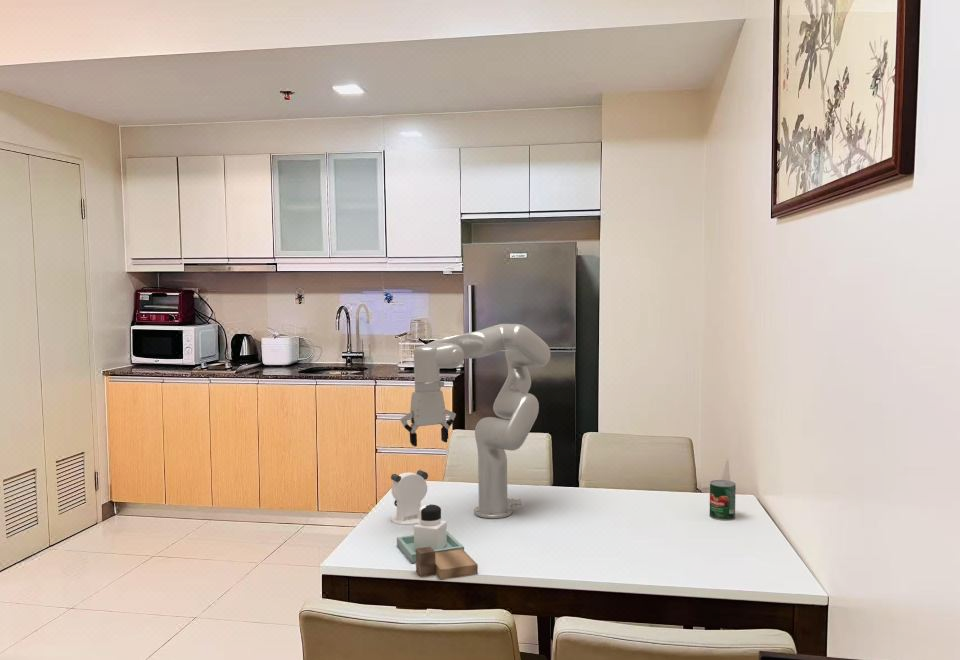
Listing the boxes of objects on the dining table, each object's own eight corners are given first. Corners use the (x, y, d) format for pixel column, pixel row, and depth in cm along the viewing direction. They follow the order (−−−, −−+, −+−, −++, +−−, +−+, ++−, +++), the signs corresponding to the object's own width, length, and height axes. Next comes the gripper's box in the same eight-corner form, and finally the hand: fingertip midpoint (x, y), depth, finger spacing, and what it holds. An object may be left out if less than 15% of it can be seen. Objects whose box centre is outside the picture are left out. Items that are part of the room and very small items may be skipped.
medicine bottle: (447, 545, 204) (446, 503, 204) (437, 554, 198) (436, 511, 197) (424, 542, 207) (423, 501, 206) (413, 551, 200) (413, 508, 199)
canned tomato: (708, 519, 228) (708, 484, 228) (710, 512, 236) (710, 478, 235) (734, 521, 225) (735, 487, 225) (735, 514, 233) (736, 481, 232)
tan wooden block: (462, 559, 196) (462, 549, 196) (477, 575, 185) (477, 564, 185) (427, 564, 193) (427, 553, 192) (440, 581, 181) (440, 569, 181)
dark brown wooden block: (430, 569, 188) (430, 546, 188) (435, 574, 185) (435, 551, 184) (416, 571, 187) (415, 548, 187) (420, 576, 183) (420, 553, 183)
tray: (446, 538, 212) (446, 530, 212) (464, 555, 198) (464, 546, 198) (396, 545, 206) (396, 537, 206) (411, 563, 192) (411, 554, 192)
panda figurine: (417, 511, 239) (417, 466, 238) (434, 520, 229) (434, 473, 229) (385, 517, 232) (384, 472, 232) (401, 527, 223) (400, 479, 222)
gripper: (449, 383, 222) (451, 437, 223) (395, 388, 214) (398, 444, 216) (458, 386, 215) (460, 442, 216) (403, 391, 208) (406, 449, 209)
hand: (429, 443), depth 216 cm, fingers open, 9 cm apart
